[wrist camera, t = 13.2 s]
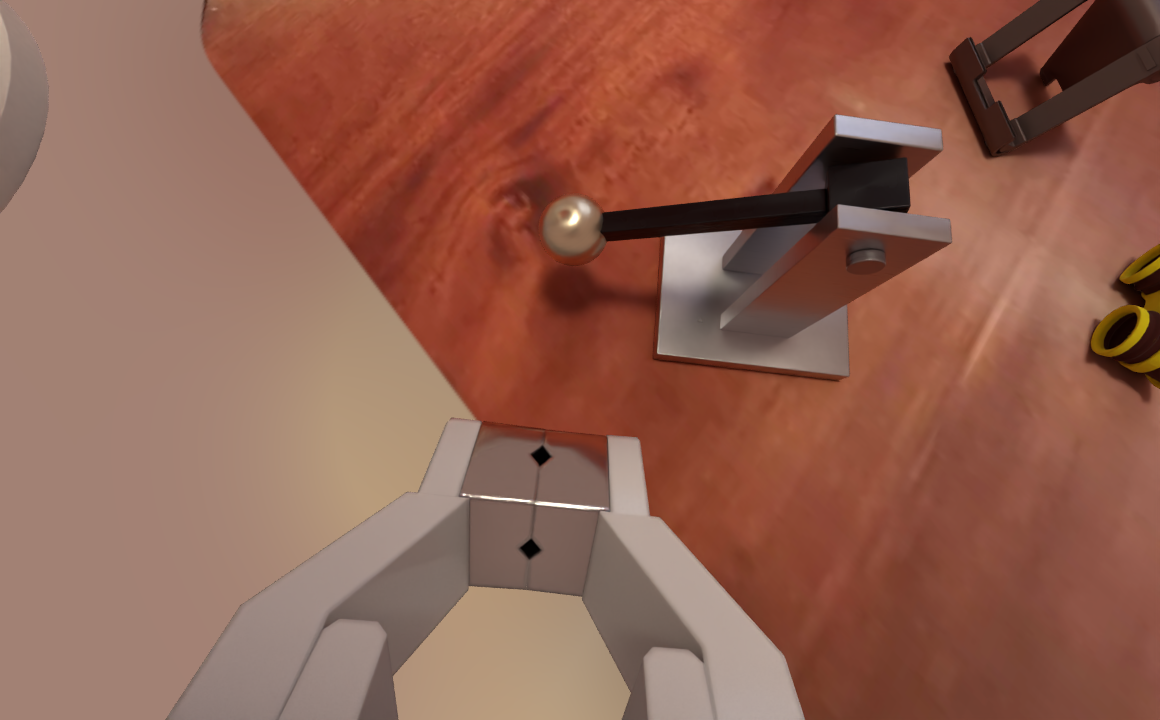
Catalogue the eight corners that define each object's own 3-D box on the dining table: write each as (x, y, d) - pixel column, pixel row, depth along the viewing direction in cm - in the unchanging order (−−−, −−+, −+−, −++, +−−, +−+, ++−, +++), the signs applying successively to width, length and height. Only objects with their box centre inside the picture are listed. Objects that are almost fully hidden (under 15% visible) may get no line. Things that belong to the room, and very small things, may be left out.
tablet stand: (941, 59, 38) (1047, -54, 30) (1029, 49, 39) (1156, -63, 31) (984, 158, 36) (1110, 66, 28) (1076, 145, 37) (1223, 51, 29)
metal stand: (652, 358, 31) (735, 264, 18) (661, 229, 33) (741, 57, 20) (838, 380, 31) (1057, 305, 18) (835, 251, 34) (1027, 99, 20)
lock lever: (551, 279, 27) (522, 248, 24) (559, 220, 28) (531, 183, 25) (894, 258, 21) (916, 214, 18) (890, 185, 22) (910, 130, 19)
